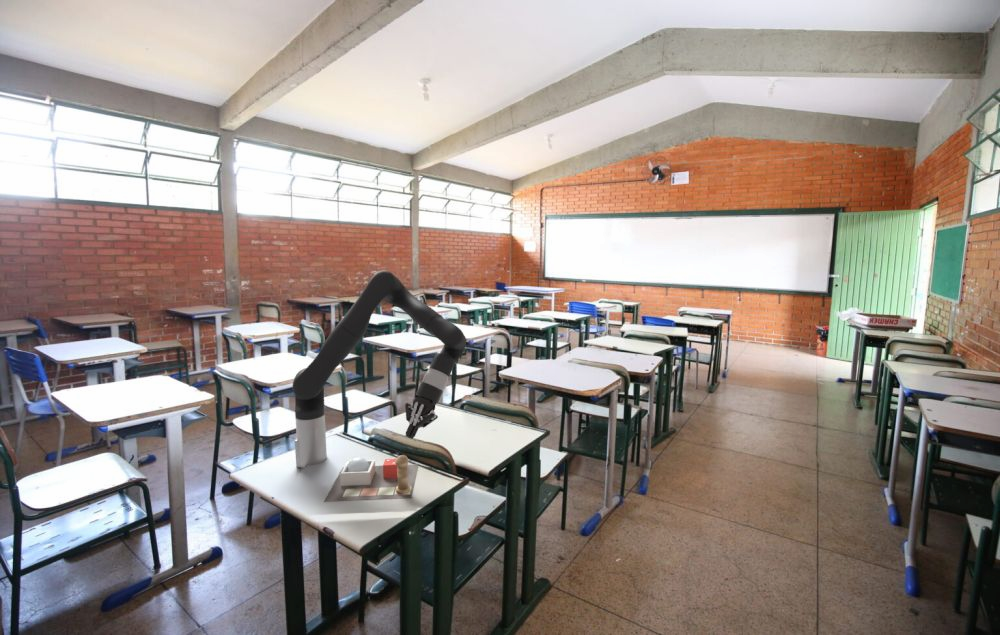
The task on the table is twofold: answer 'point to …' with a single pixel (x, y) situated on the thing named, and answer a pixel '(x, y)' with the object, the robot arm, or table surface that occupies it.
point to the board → (372, 487)
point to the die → (390, 468)
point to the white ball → (358, 465)
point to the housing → (357, 475)
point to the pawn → (402, 475)
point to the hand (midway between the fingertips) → (408, 437)
